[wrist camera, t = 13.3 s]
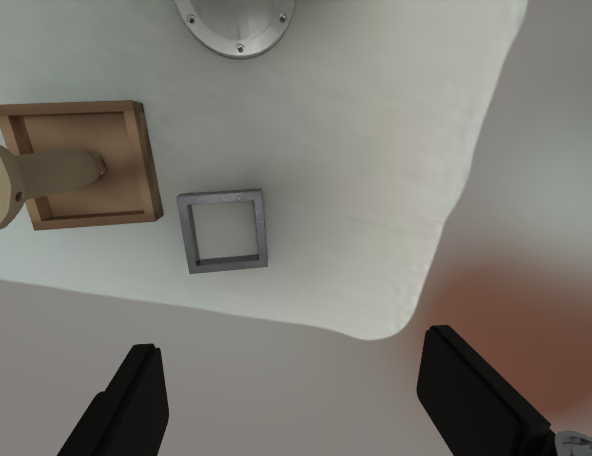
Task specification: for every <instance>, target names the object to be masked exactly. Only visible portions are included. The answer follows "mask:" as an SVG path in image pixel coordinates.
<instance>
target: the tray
mask: <svg viewBox="0 0 592 456" xmlns="http://www.w3.org/2000/svg"><path fill="white" fill-rule="evenodd" d="M0 128H1V131H2V134H3V137H4V140H5V143H6V146H7V149H8V150H9V151H10V152H11V153H12V154H13V155H14V156H18V155H25V154H31V153H37V152H43V151H49V150H61V149H69V150H79V151H88V152H90V153H91V154H98V155H100V156H101V157H102V163H103V165H104V167H106V172H105V173H104V174H102V175H100V176H99V177H98V180H96V181H94V182H92V183H90V184H88V185H86V186H84V187H81V188H79V189H76V190H73V191H69V192H64V193H59V194H53V195H48V196H42V197H37V198H33V199H28V200H25V203H26V206H27V209H28V212H29V215H30V218H31V221H32V224H33V228H34V231H35V230H49V229H62V228H75V227H88V226H102V225H115V224H128V223H141V222H155V221H157V220H158V219H159V218H160V217H162V216H163V210H162V204H161V199H160V194H159V188H158V183H157V178H156V173H155V167H154V162H153V157H152V151H151V146H150V141H149V135H148V130H147V125H146V120H145V114H144V109H143V104H142V103H139V102H135V101H132V100H125V101H97V102H68V103H39V104H10V105H0Z"/></svg>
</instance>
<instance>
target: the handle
mask: <svg viewBox="0 0 592 456" xmlns="http://www.w3.org/2000/svg"><path fill="white" fill-rule="evenodd" d="M105 172H106V167H104V165H103V163H102V157H101V156H100V155H98V154H91V153H90V152H88V151H79V150H69V149H61V150H49V151H43V152H37V153H31V154H25V155H18V156H14V155H13V154H12V153H11V152H10V151H9V150H7V149H6V148H5V147H3V146H1V145H0V229H2V228H5V227H6V226H7V225H8V224H9V223H10V222H11V221H12V220H13V219H14V218H15V217H16V215H17V214H18V213H19V211H20V209H21V208H22V206H23V204H24V202H25V200H28V199H33V198H37V197H42V196H48V195H53V194H59V193H64V192H69V191H73V190H76V189H79V188H81V187H84V186H86V185H88V184H90V183H92V182H94V181H96V180H98V177H99V176H100V175H102V174H104V173H105Z"/></svg>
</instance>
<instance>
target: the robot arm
mask: <svg viewBox="0 0 592 456" xmlns="http://www.w3.org/2000/svg"><path fill="white" fill-rule="evenodd" d="M174 2H175V4H176V7H177V9H178V12H179V14H180V16H181V18H182V20H183V21H184V23H185V25H186V26H187V28H188V29H189V30H190V32H191V33H192V34H193V35H194V36H195V37H196V38H197V39H198V40H199V41H200V42H201V43H202V44H203V45H204V46H206V47H207V48H209V49H210V50H211V51H213V52H216V53H218V54H220V55H222V56H226V57H230V58H240V59H245V58H250V57H255V56H258V55H260V54H262V53H265V52H266V51H268V50H269V49H270V48H272V47H273V46H274V45H275V44H276V43H277V42H278V41H279V40H280V39H281V38H282V36H283V34H284V33H285V31H286V30H287V28H288V25H289V23H290V20H291V18H292V14H293V10H294V5H295V0H174ZM280 19H283V20H284V21H285V22H284V23H281V22H280ZM191 20H195V22H194V23H193V24H191V23H190V21H191ZM239 48H242V49H243V52H239V51H238V50H239ZM417 396H418V398H419V400H420V402H421V404H422V405H423V407H424V409H425V410H426V412H427V413H428V415H429V416H430V418H431V420H432V421H433V423H434V425H435V426H436V428H437V429H438V431H439V433H440V434H441V436H442V438H443V439H444V441H445V442H446V444H447V445H448V447H449V449H450V450H451V452H452V454H453V455H454V456H592V438H591V437H588V436H586V435H584V434H581V433H577V432H574V431H561V432H558V433H557V435H556V434H555V433H554V432H553V431H551V430H550V429H549V428H550V425H551V424H550V423H549V422H548V421H547V420H546V419H545V418H544V417H543V416H542V415H541V414H540V413H539V412H538V411H537V410H536V409H535V408H534V407H533V406H532V405H531V404H530V403H529V402H528V401H527V400H526V399H524V398H523V397H522V396H521V395H520V394H519V393H518V392H517V391H516V390H515V389H514V388H513V387H512V386H511V385H510V384H509V383H508V382H507V381H506V380H505V379H504V378H503V377H502V376H501V375H500V374H499V373H498V372H497V371H496V370H495V369H493V367H491V366H490V365H489V364H488V363H487V362H486V361H485V360H484V359H483V358H482V357H481V356H480V355H479V354H478V353H477V352H476V351H475V350H474V349H473V348H472V347H471V346H470V345H469V344H468V343H467V342H466V341H465V340H464V339H462V337H460V336H459V335H458V334H457V333H456V332H455V331H454V330H453V329H452V328H451V327H450V326H448V325H437V326H431V327H430V329H429V330H427V331H426V334H425V339H424V346H423V352H422V358H421V364H420V370H419V377H418V383H417ZM168 419H169V408H168V401H167V393H166V387H165V379H164V372H163V364H162V357H161V350H160V348H155V346H154V344H137V345H133V347H132V348H131V350H130V351H129V353H128V354H127V356H126V358H125V359H124V361H123V363H122V364H121V366H120V367H119V369H118V371H117V372H116V374H115V376H114V377H113V379H112V380H111V382H110V383H109V385H108V387H107V388H106V390H105V391H104V392H100V393H98V394H97V395H96V396H95V398H94V399H93V400H92V402H91V404H90V405H89V406H88V408H87V410H86V411H85V413H84V414H83V416H82V417H81V419H80V421H79V422H78V423H77V425H76V427H75V428H74V430H73V431H72V433H71V434H70V436H69V437H68V439H67V441H66V442H65V444H64V445H63V447H62V448H61V450H60V452H59V453H58V455H57V456H157V454H158V451H159V448H160V445H161V442H162V439H163V436H164V432H165V430H166V426H167V423H168Z"/></svg>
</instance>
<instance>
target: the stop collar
mask: <svg viewBox="0 0 592 456" xmlns="http://www.w3.org/2000/svg"><path fill="white" fill-rule="evenodd" d="M176 198H177V204H178V209H179V215H180V221H181V227H182V233H183V238H184V244H185V250H186V256H187V262H188V268H189V273H190V274H195V273H206V272H216V271H227V270H238V269H248V268H259V267H268V263H267V250H266V238H265V226H264V214H263V202H262V190H261V189H249V190H234V191H219V192H204V193H189V194H180V195H179V196H177V197H176ZM247 200H254V206H255V217H256V227H257V238H258V249H259V255H249V256H238V257H227V258H216V259H205V260H199V254H198V247H197V241H196V235H195V228H194V222H193V216H192V209H191V204H205V203H219V202H233V201H247Z"/></svg>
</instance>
